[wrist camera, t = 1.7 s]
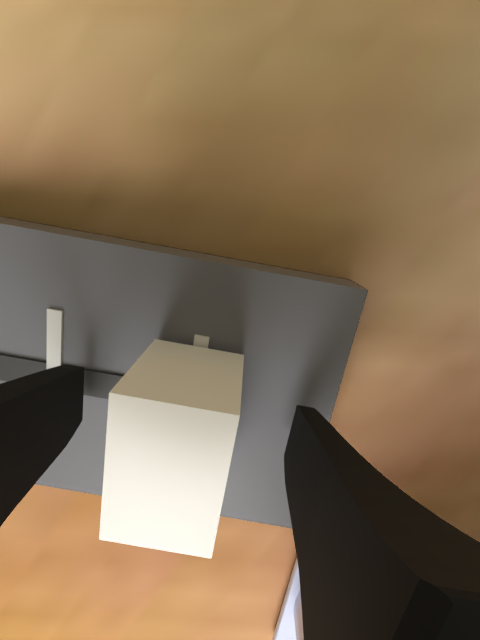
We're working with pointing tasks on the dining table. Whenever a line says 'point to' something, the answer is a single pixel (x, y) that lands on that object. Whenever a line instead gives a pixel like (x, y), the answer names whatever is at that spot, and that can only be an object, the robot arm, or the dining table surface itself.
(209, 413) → the slider knob
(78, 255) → the slider panel
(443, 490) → the dining table surface
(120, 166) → the dining table surface
